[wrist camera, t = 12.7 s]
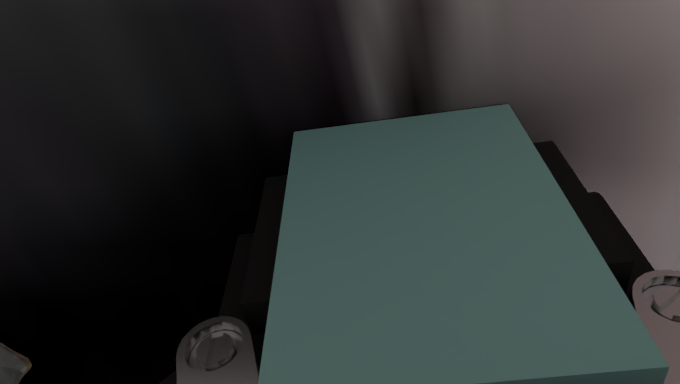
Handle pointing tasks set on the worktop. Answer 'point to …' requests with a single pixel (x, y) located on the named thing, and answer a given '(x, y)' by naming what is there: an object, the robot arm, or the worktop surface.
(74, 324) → the worktop surface
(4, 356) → the soda pack
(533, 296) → the teal block
